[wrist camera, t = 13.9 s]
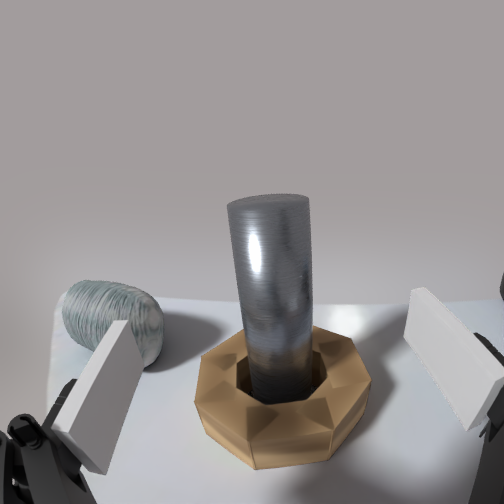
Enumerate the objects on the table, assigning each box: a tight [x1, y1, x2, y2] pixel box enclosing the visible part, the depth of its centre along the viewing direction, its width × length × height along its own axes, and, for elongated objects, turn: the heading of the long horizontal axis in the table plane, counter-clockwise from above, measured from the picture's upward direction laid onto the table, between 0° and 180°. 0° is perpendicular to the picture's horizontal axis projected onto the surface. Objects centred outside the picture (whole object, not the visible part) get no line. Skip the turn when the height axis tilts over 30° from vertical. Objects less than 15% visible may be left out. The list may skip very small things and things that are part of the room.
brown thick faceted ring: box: [194, 326, 372, 470], centre depth 21 cm, size 12×12×4 cm
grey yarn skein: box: [62, 280, 164, 367], centre depth 29 cm, size 14×10×10 cm
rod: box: [227, 194, 313, 405], centre depth 19 cm, size 4×4×16 cm
